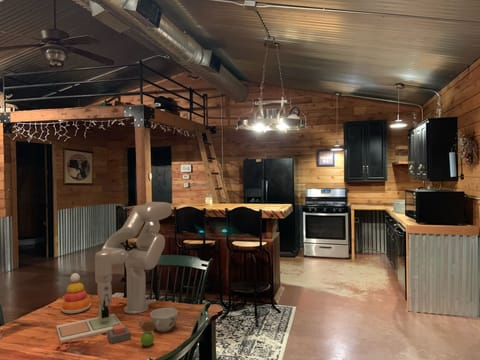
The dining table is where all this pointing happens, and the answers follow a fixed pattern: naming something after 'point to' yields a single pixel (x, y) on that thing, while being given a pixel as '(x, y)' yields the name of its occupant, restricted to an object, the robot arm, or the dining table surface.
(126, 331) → the button housing
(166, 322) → the teacup
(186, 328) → the dining table surface
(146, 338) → the snail figurine
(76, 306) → the stacking toy
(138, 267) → the robot arm
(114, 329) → the button
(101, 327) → the picture board
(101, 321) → the sage block
